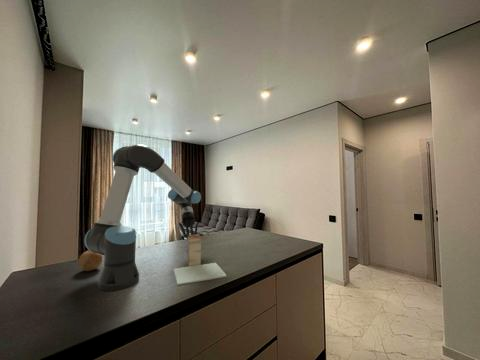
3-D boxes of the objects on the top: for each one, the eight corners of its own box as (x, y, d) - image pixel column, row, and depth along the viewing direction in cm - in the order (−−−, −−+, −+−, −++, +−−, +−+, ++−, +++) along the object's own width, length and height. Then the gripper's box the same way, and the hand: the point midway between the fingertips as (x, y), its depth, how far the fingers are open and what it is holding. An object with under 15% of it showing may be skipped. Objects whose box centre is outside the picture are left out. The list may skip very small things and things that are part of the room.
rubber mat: (173, 269, 102) (173, 268, 102) (215, 263, 111) (215, 262, 111) (177, 285, 86) (177, 283, 86) (226, 276, 94) (226, 275, 94)
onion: (103, 265, 108) (104, 246, 108) (99, 272, 99) (99, 251, 99) (81, 268, 104) (82, 248, 105) (74, 275, 95) (75, 253, 95)
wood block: (187, 262, 112) (187, 235, 113) (198, 261, 114) (198, 234, 115) (189, 266, 107) (189, 237, 107) (200, 265, 109) (200, 236, 110)
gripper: (196, 218, 140) (201, 249, 124) (176, 218, 135) (179, 251, 119) (198, 210, 135) (203, 242, 119) (178, 211, 130) (180, 244, 114)
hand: (191, 246), depth 119 cm, fingers closed
